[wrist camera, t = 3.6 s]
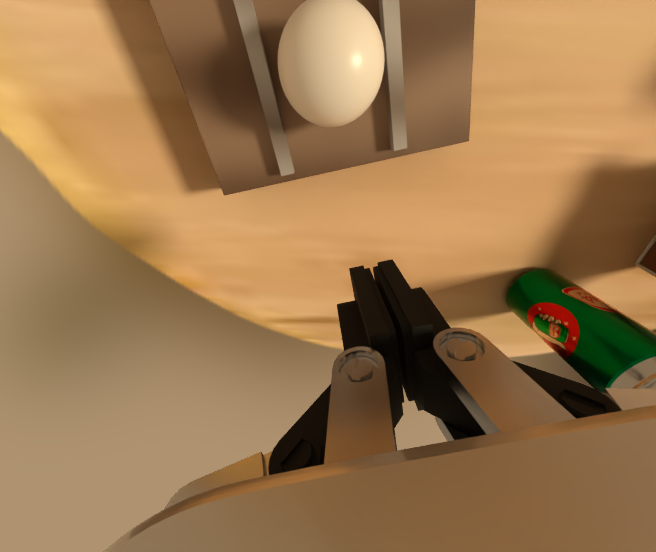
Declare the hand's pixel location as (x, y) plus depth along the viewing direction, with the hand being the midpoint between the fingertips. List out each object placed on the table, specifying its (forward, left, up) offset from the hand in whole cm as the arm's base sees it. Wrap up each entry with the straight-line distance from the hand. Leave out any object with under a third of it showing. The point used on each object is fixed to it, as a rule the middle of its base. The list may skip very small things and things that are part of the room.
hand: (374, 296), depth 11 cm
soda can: (+12, +16, -13) cm, 24 cm away
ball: (-8, 0, -7) cm, 11 cm away
